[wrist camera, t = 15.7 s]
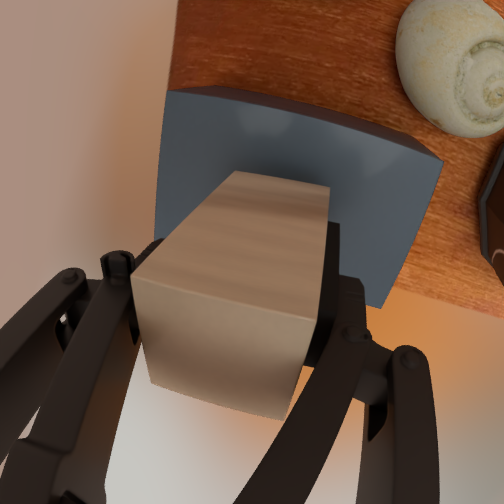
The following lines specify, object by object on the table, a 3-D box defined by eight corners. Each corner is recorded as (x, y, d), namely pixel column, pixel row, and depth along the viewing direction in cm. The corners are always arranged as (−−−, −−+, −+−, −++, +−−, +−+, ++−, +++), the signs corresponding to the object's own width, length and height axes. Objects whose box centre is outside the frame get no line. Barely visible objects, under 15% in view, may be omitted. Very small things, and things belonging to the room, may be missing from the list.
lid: (380, 303, 23) (381, 309, 23) (158, 238, 25) (153, 242, 25) (440, 159, 17) (444, 161, 17) (172, 89, 19) (166, 90, 19)
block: (234, 170, 17) (128, 275, 8) (330, 186, 16) (317, 320, 8) (229, 251, 19) (150, 383, 11) (313, 269, 18) (283, 421, 10)
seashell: (548, 138, 14) (444, 154, 17) (496, 129, 22) (406, 144, 24) (499, -25, 10) (384, -33, 13) (458, 1, 17) (363, 5, 20)
